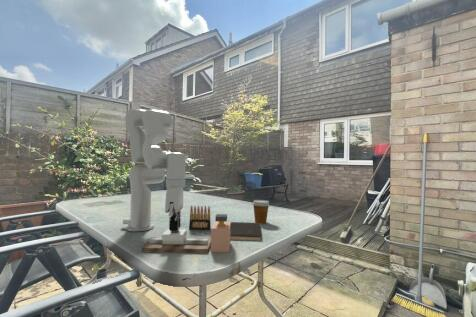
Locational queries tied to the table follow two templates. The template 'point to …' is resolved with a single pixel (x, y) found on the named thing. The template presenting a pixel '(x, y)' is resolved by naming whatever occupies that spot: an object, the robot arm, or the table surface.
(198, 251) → the rail bed
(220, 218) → the button
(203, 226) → the ammunition clip
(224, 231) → the pink block
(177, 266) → the table surface
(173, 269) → the table surface
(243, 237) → the hardcover book
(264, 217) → the disposable coffee cup
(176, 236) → the carriage
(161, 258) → the table surface
